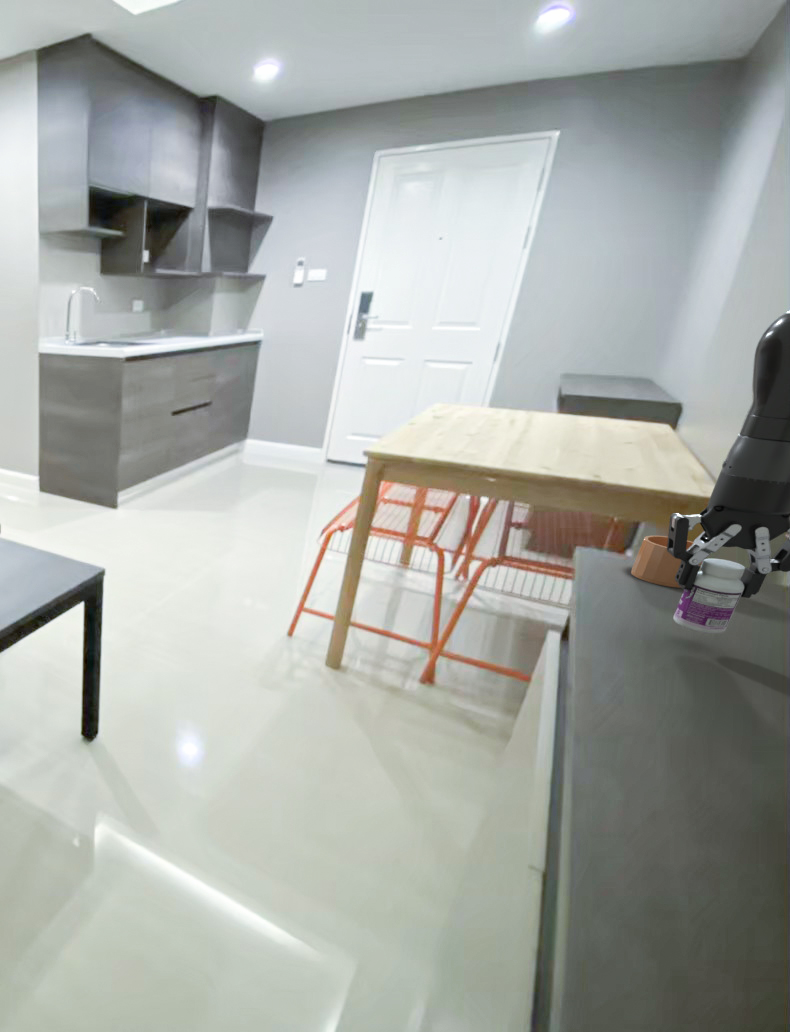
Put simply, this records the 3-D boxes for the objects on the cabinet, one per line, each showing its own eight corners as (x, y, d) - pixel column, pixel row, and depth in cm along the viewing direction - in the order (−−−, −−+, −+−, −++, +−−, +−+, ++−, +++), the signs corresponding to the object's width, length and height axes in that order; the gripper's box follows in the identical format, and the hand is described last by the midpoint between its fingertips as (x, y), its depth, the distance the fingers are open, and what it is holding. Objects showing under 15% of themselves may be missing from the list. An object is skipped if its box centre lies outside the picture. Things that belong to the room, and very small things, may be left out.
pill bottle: (674, 613, 90) (698, 553, 86) (725, 626, 86) (753, 563, 82) (669, 625, 86) (694, 563, 83) (723, 638, 83) (752, 574, 79)
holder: (679, 575, 111) (694, 539, 108) (699, 592, 104) (716, 554, 101) (623, 567, 114) (637, 532, 111) (639, 583, 107) (654, 547, 105)
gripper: (701, 473, 78) (654, 592, 84) (864, 485, 72) (801, 612, 78) (677, 461, 84) (636, 573, 90) (826, 471, 78) (770, 590, 84)
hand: (713, 591), depth 84 cm, fingers closed on pill bottle, 5 cm apart
